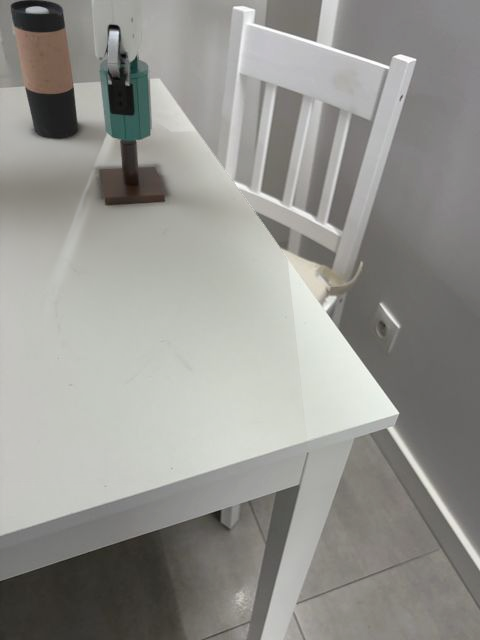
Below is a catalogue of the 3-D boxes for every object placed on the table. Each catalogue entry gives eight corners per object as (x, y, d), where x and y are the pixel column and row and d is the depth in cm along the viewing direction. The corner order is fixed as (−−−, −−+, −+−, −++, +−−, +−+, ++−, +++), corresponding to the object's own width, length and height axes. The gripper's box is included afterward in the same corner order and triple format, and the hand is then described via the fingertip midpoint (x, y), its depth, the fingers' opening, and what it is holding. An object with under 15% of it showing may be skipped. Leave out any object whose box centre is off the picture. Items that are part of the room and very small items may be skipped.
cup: (103, 139, 78) (95, 71, 71) (110, 119, 82) (104, 54, 76) (148, 142, 78) (145, 76, 72) (153, 123, 83) (151, 59, 77)
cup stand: (105, 205, 83) (99, 156, 77) (99, 175, 89) (94, 128, 83) (164, 201, 85) (163, 154, 80) (155, 173, 91) (153, 127, 86)
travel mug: (27, 131, 97) (0, 1, 83) (68, 123, 101) (49, -3, 86) (46, 149, 93) (22, 16, 79) (88, 140, 97) (72, 11, 83)
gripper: (96, -67, 71) (109, 78, 83) (66, -38, 59) (87, 127, 71) (154, -60, 71) (159, 83, 84) (137, -31, 59) (146, 131, 72)
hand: (126, 102), depth 78 cm, fingers closed on cup, 6 cm apart
